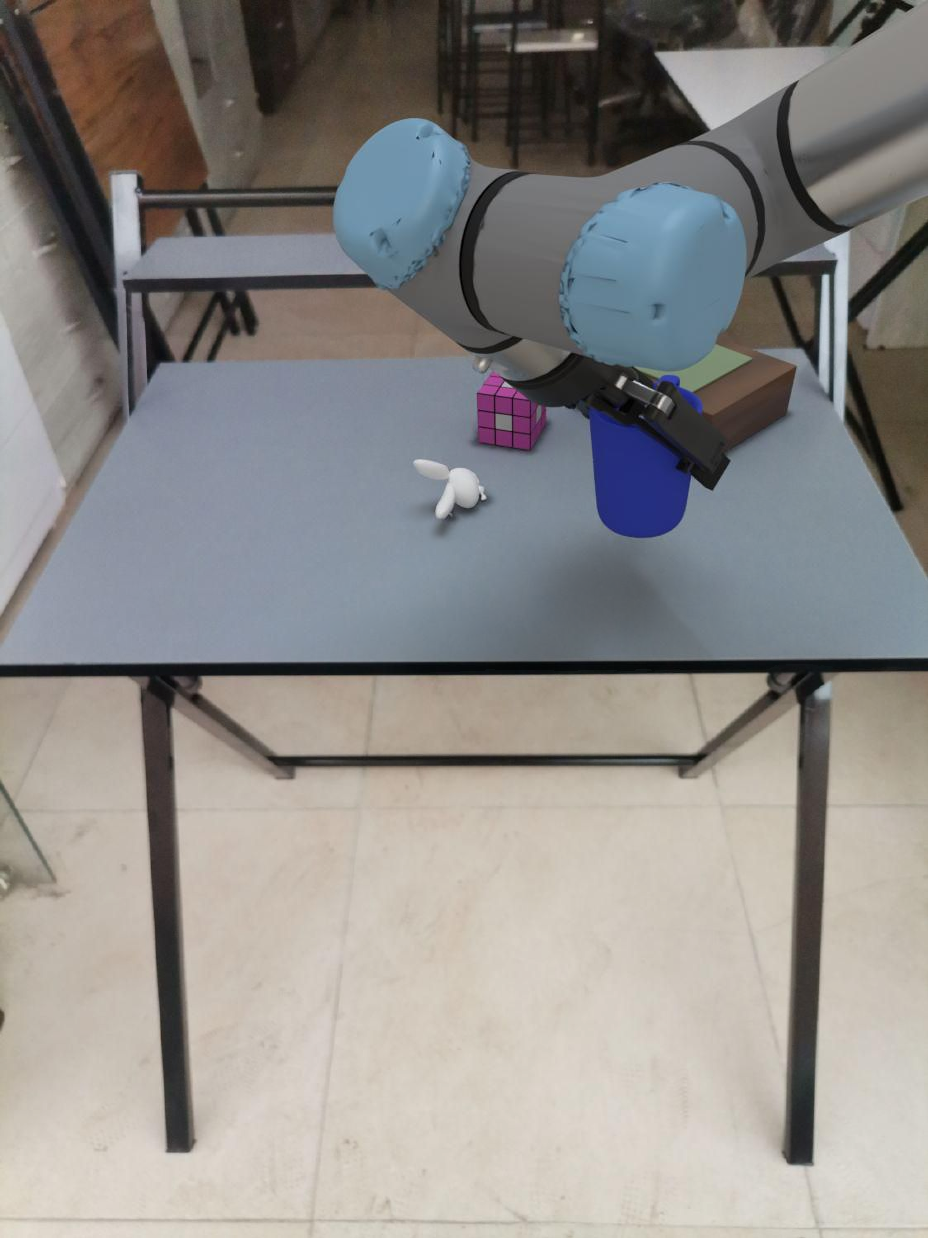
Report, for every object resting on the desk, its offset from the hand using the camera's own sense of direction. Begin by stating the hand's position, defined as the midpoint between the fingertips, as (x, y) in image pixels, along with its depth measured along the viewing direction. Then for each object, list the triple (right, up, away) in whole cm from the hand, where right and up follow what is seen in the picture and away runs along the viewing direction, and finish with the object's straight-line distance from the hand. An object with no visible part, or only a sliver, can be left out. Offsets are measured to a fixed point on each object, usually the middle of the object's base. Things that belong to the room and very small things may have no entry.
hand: (679, 456), depth 74 cm
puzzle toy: (-12, +6, +23) cm, 27 cm away
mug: (-2, -4, +1) cm, 5 cm away
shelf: (+6, +10, +25) cm, 27 cm away
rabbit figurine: (-19, -3, +13) cm, 23 cm away
